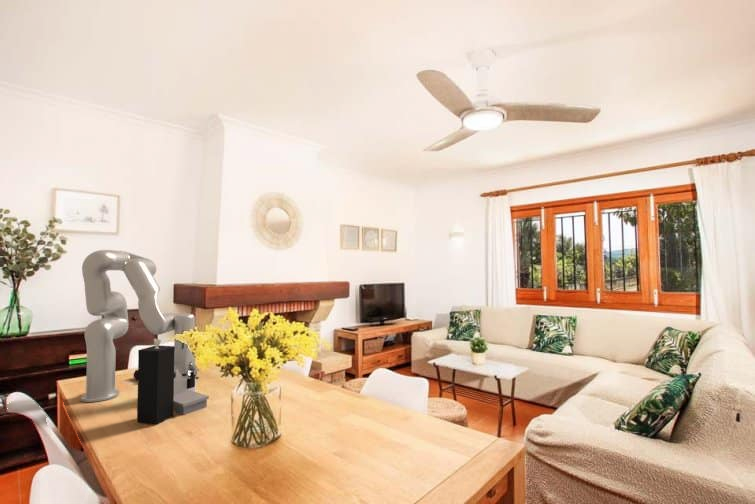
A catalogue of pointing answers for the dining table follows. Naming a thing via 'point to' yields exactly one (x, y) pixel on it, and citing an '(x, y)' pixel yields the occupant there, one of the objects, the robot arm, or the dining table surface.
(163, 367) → the tall black pillar
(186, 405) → the podium
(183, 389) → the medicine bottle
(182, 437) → the dining table surface
